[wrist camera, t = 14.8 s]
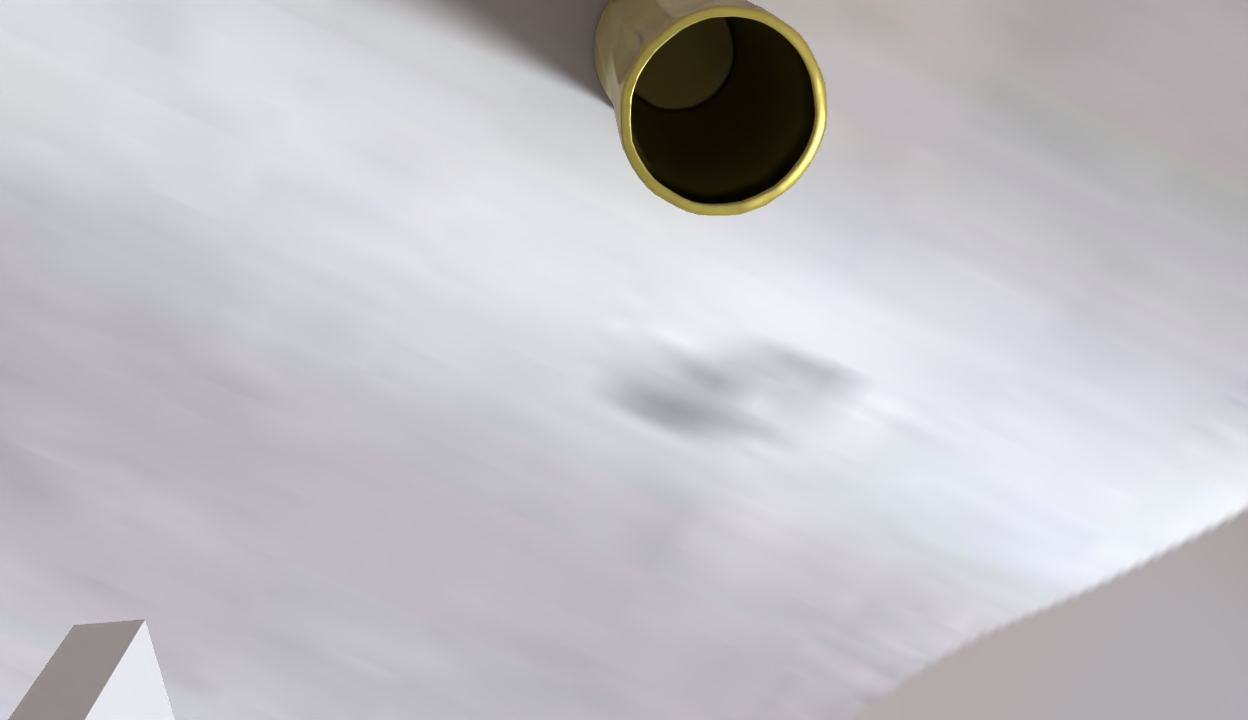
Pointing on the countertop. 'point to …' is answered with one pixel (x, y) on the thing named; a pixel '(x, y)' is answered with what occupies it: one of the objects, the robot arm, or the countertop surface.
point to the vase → (711, 100)
